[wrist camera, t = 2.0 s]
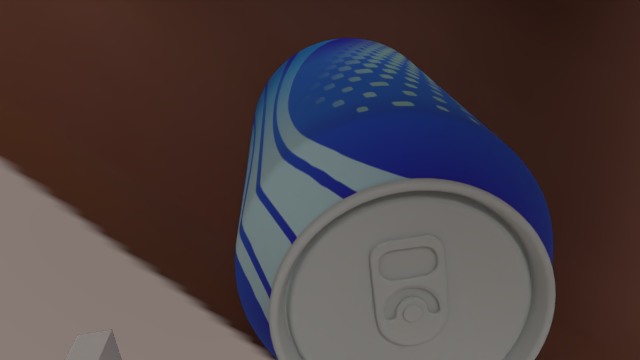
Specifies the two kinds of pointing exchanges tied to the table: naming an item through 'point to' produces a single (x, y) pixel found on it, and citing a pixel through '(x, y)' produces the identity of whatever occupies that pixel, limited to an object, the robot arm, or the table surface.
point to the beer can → (387, 219)
